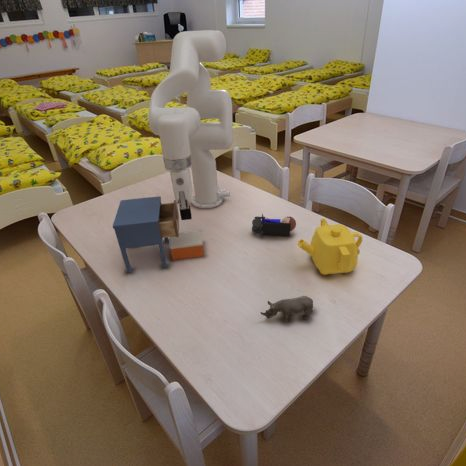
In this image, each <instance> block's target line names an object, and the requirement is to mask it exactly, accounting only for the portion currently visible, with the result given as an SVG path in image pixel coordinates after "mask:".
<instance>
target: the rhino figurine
mask: <svg viewBox="0 0 466 466" xmlns="http://www.w3.org/2000/svg"><path fill="white" fill-rule="evenodd" d="M267 305H268V306H269V308H268V309H265V311H264V312H262V311H260V314H261V315H262V316H264V317H266V319H268V320H269V319H271V318H273V317H276V316H277V315H278V313H282V314H283V316H284V317H283V322H284V323H288V322H289V321H290V315H291V314H292V315H299V314H302V313H303V312H304V315H303V316H302V320H306V321H308V320H309V319H310V315H311V313H314V310H313V308H314V300H313V299H312V298H311V297H309V296H307V295H301V296H298V297H293V298H283V299H279V300H278V301H275V302H273V303H272V302H271V301H269V300H268V301H267Z"/></svg>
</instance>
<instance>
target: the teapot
mask: <svg viewBox="0 0 466 466" xmlns="http://www.w3.org/2000/svg"><path fill="white" fill-rule="evenodd" d="M355 238H357V240H356V239H355ZM362 242H363V236H362V234H360V233H359V232H356V231H355V232H351V230H350V229H349V228H348V227H347V226H345V225H344V224H328V222H327V219H326V218H320V226H317V227H316V228H315V231H314V233H313V234H312V236H311V241H310V244H309V243H308V242H307V241H306V240H304V239H303V238H302V239H300V240H299V241H298V242H297V247H299V248H300V249H301V250H302V251H305V252H306V253H307V254H308V255H310V256H311V259H312V262H313V263H314V265H315V267H316V268H317V270H319V274H321V275H323V276H327V275H330V274H331V275H333V274H334V275H335V274H343V273H344V274H348V273H350V272H352V271H354V270H355V269H356V267H357V266H358V255H360V254H361V253H360V252H361V251H360V248H359V247H360V246H361V244H362Z"/></svg>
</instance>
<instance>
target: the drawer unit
mask: <svg viewBox="0 0 466 466" xmlns="http://www.w3.org/2000/svg"><path fill="white" fill-rule="evenodd" d="M160 204H162V196H160V195H158V196H150V197H140V198H139V197H138V198H131V199H130V198H129V199H121V200H120V202H119V205H118V208H117V211H116V214H115V217H114V220H113V223H112V229H113V231H114V233H115V236H116V240H117V243H118V246H119V250H120V253H121V256H122V260H123V263H124V266H125V270H126V273H127V274H131V273H132V272H133V270H132V267H131V262H130V260H129V255H128V252H127V249H134V248H144V247H150V246H151V247H152V246H153V247H154V246H158V251H159V256H160V261H161V264H162V268H163V269H168V263H167V258H166V253H165V247H164V243H165V244H170V239H169V237H168V238H161V235H160V230H159V225H158V223H159V214H160ZM163 239H164V240H163ZM163 241H164V243H163Z"/></svg>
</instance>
